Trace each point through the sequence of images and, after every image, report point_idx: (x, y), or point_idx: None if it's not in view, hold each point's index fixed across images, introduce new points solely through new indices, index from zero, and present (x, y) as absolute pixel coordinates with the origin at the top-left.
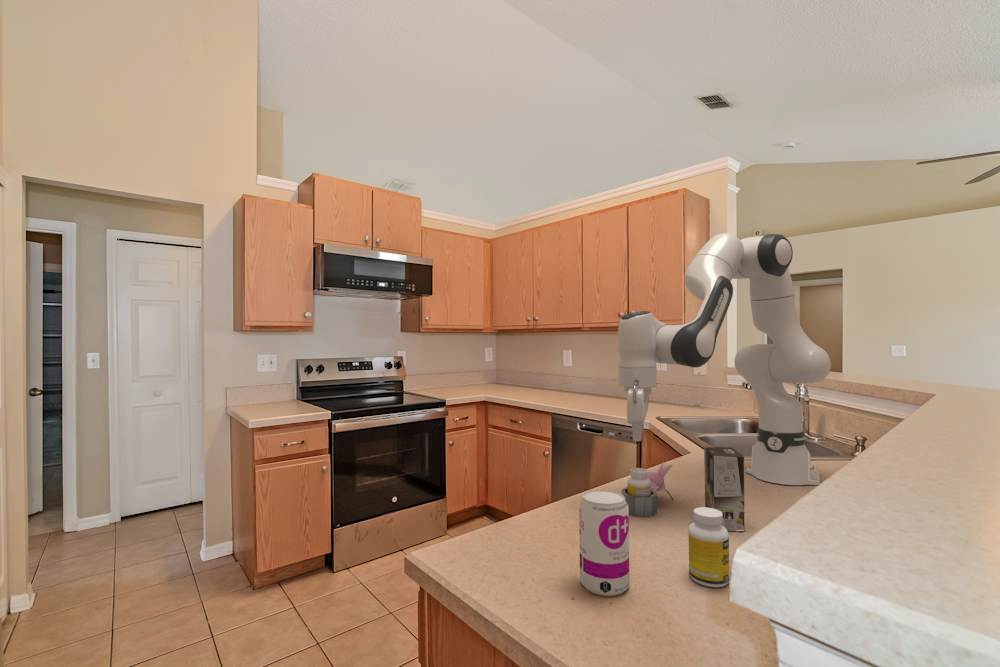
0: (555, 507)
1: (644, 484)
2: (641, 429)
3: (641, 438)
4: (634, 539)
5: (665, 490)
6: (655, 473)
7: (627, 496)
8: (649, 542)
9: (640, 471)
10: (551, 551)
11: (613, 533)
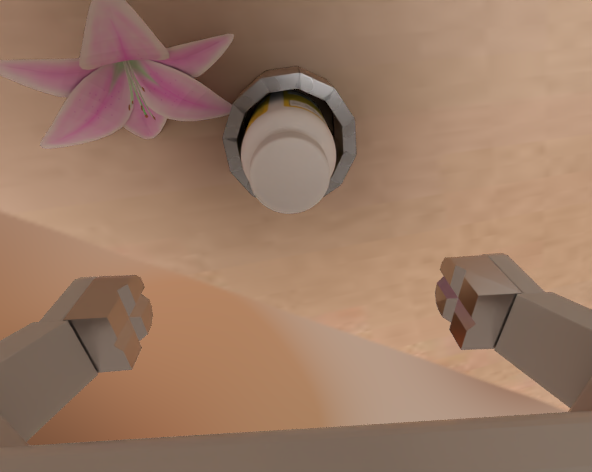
0: (337, 318)
1: (329, 132)
2: (126, 302)
3: (452, 258)
4: (517, 116)
5: (230, 36)
6: (70, 100)
7: (343, 179)
8: (538, 70)
9: (312, 167)
10: (580, 271)
11: None
